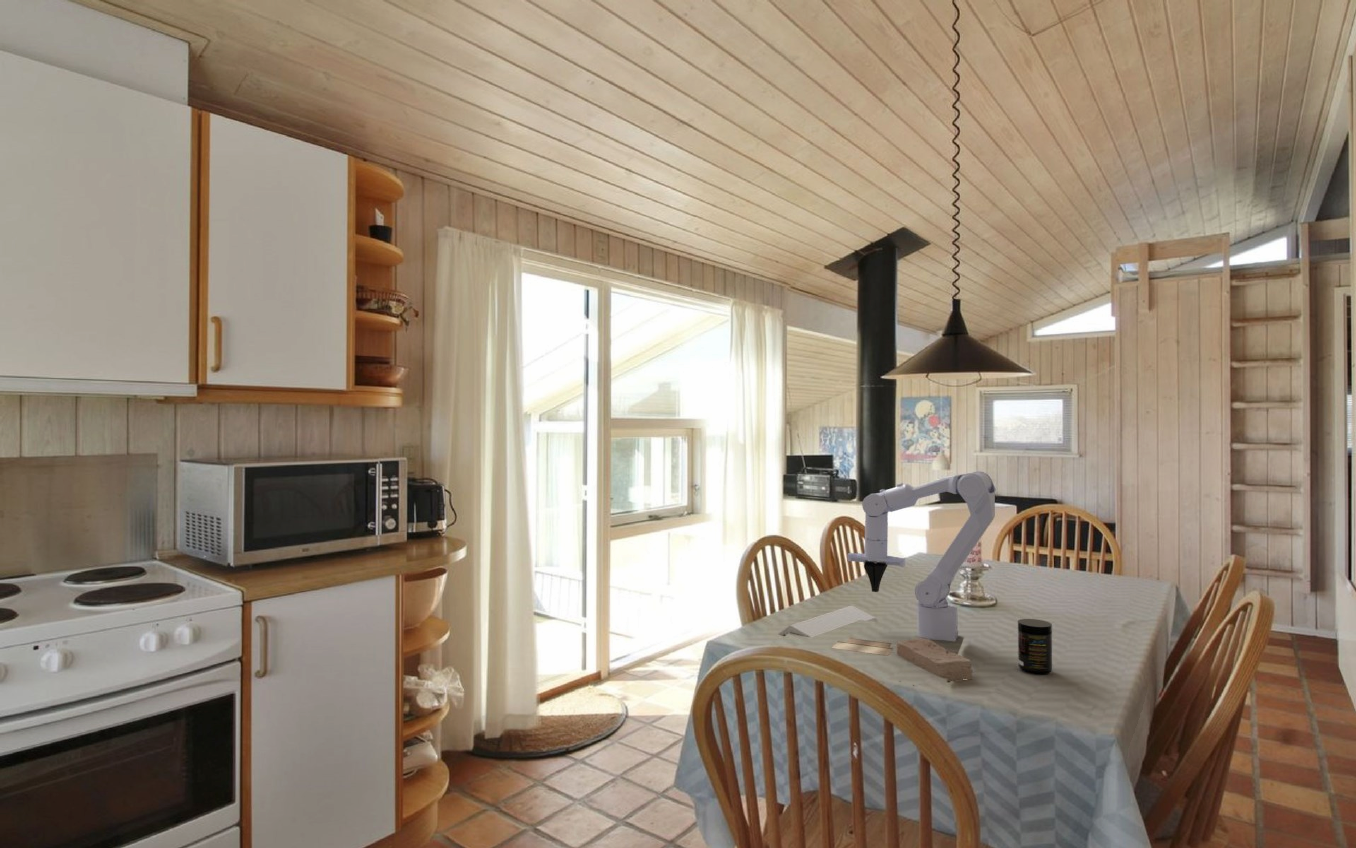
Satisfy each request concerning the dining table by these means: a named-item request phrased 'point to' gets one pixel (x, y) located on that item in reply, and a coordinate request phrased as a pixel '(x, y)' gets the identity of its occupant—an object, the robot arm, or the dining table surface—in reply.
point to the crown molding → (828, 622)
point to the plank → (869, 642)
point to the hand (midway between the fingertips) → (875, 591)
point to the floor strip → (862, 648)
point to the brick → (935, 659)
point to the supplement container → (1035, 646)
